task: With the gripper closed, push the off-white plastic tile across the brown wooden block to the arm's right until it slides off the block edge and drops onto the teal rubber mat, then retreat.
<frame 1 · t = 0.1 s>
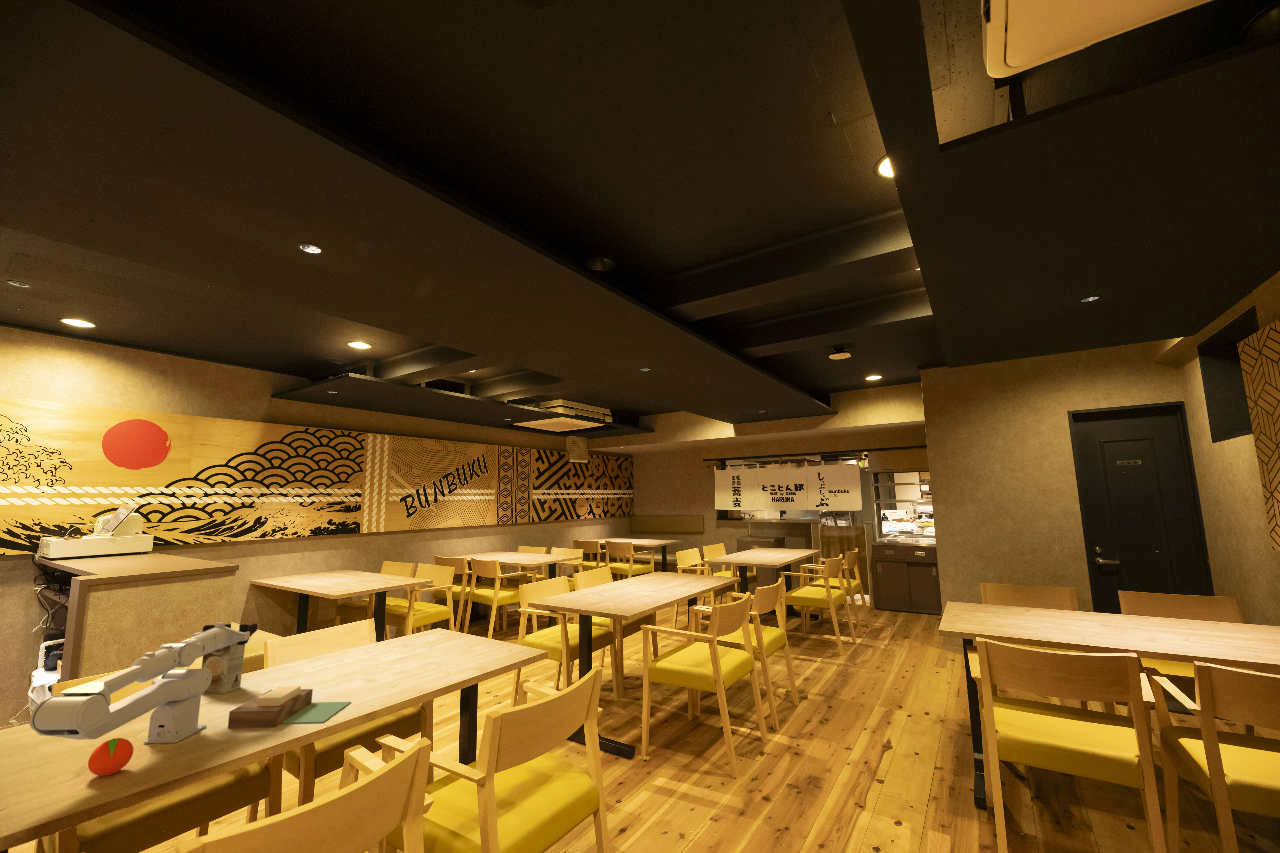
hand: (242, 627, 153), 22 cm above the table, tool horizontal, fingers open, 7 cm apart
coffee box: (219, 690, 162), on the table
mat: (317, 712, 144), on the table
tile: (278, 699, 143), point 4 cm above the table, touching brown wooden block
brown wooden block: (272, 715, 142), on the table
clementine: (108, 775, 111), on the table
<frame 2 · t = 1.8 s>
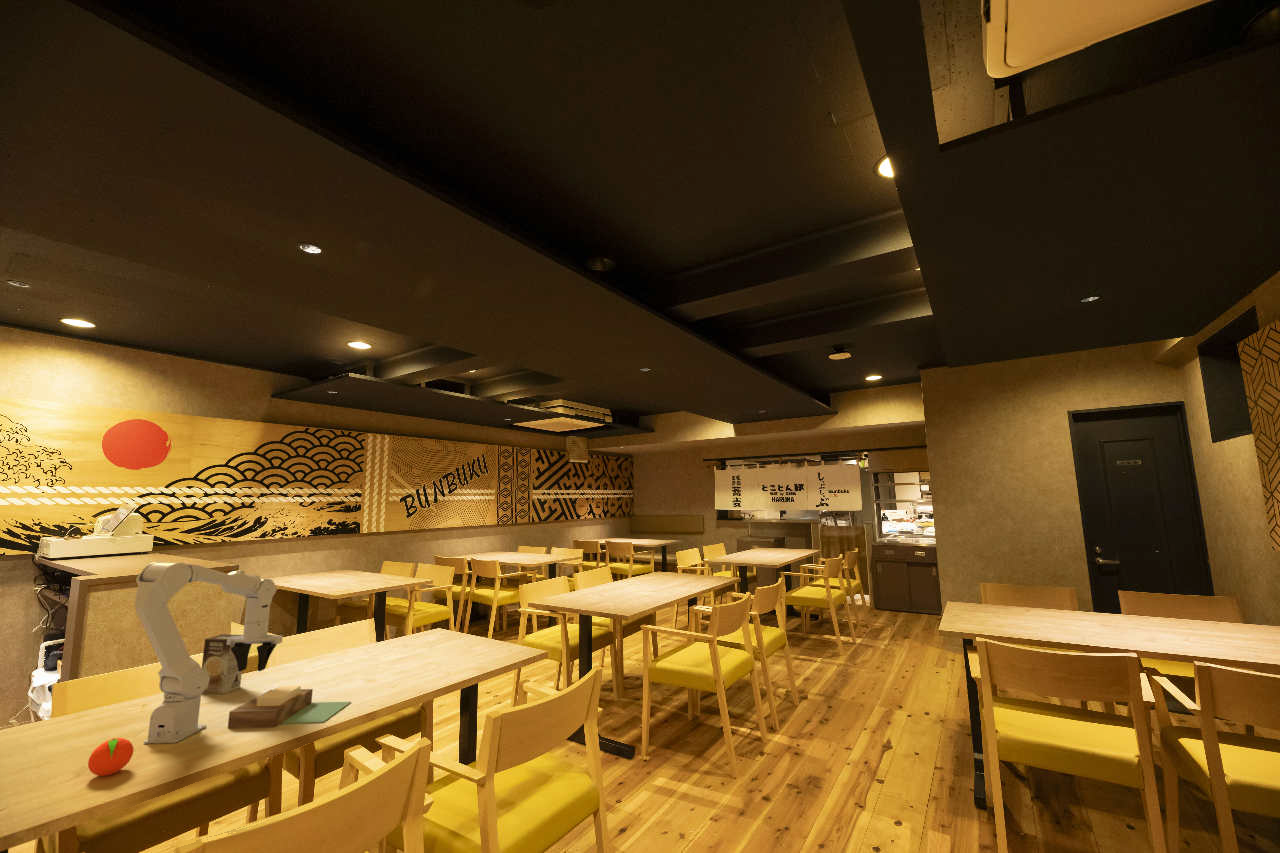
hand: (251, 670, 148), 10 cm above the table, tool pointing down, fingers open, 5 cm apart
nothing on the table moved.
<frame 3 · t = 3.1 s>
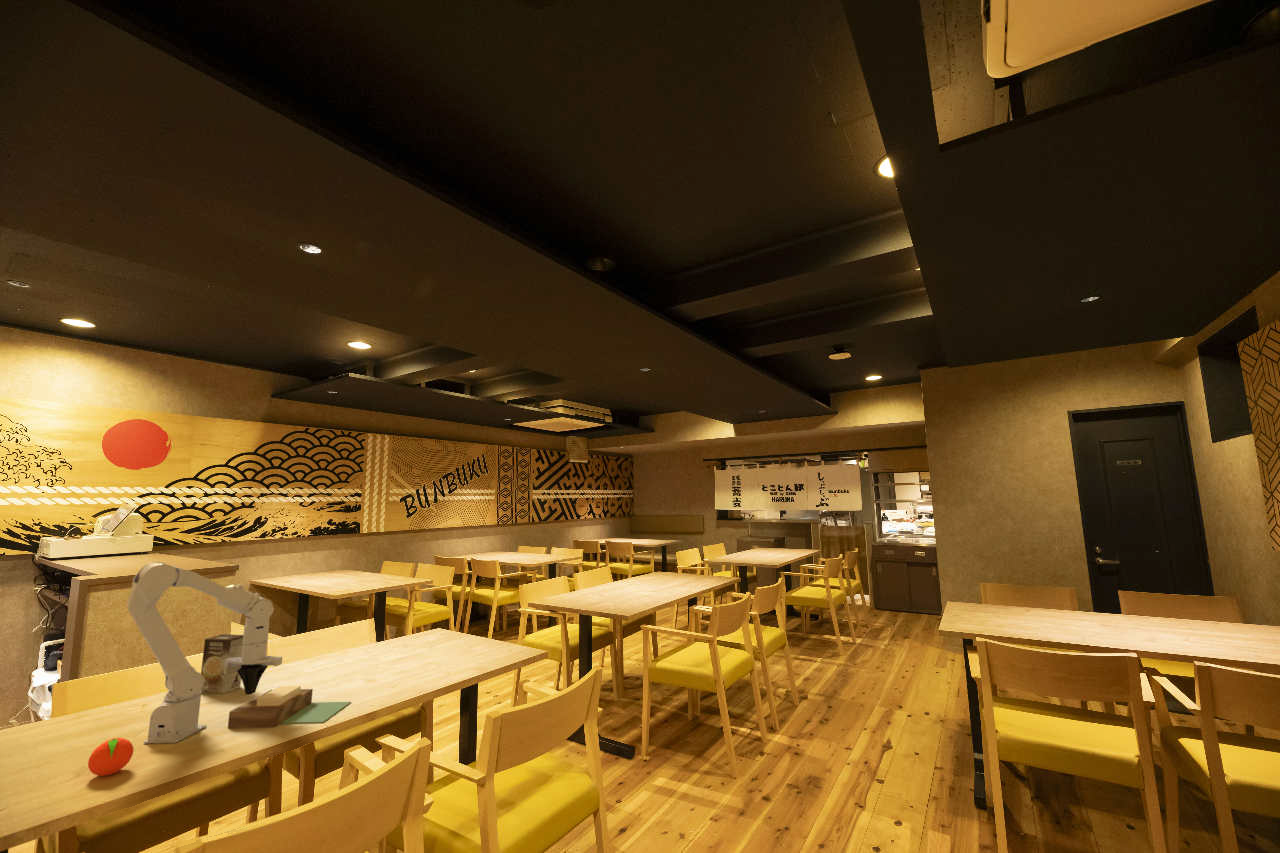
hand: (250, 693, 143), 6 cm above the table, tool pointing down, fingers closed
nothing on the table moved.
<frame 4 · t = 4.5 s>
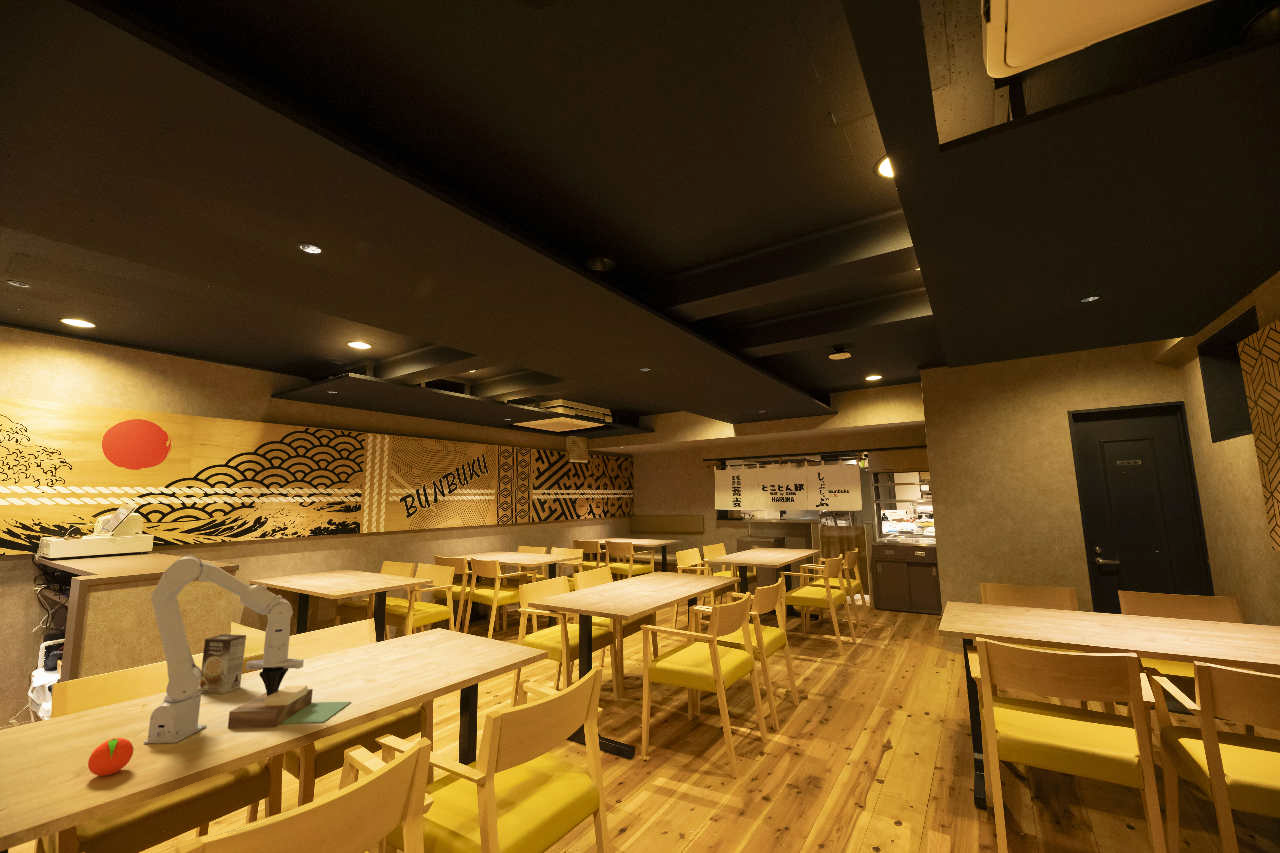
hand: (272, 696, 143), 5 cm above the table, tool pointing down, fingers closed
tile: (286, 699, 143), point 4 cm above the table, touching brown wooden block, gripper
everything else where it was.
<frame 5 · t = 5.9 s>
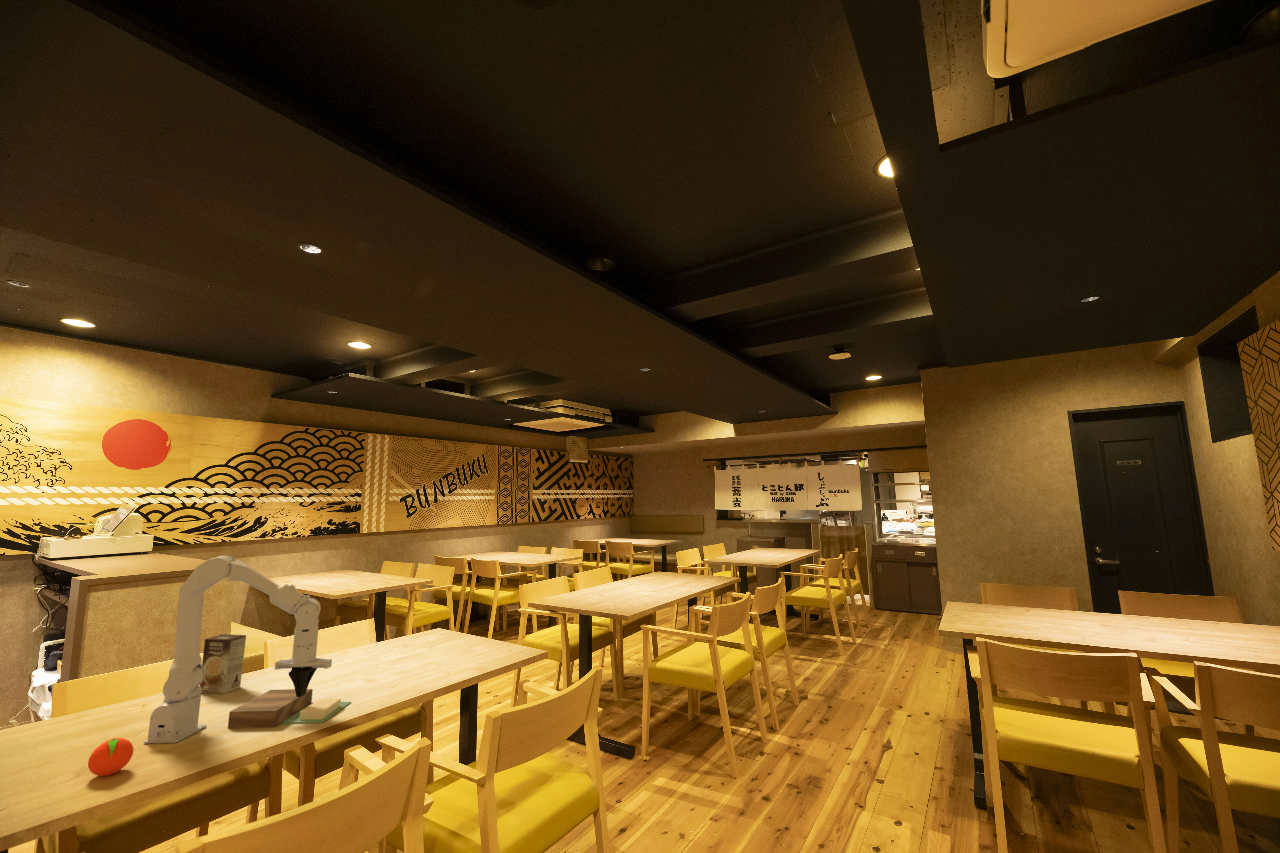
hand: (300, 695, 143), 5 cm above the table, tool pointing down, fingers closed
tile: (321, 705, 143), point 2 cm above the table, tilted 180°, touching mat
everything else where it was.
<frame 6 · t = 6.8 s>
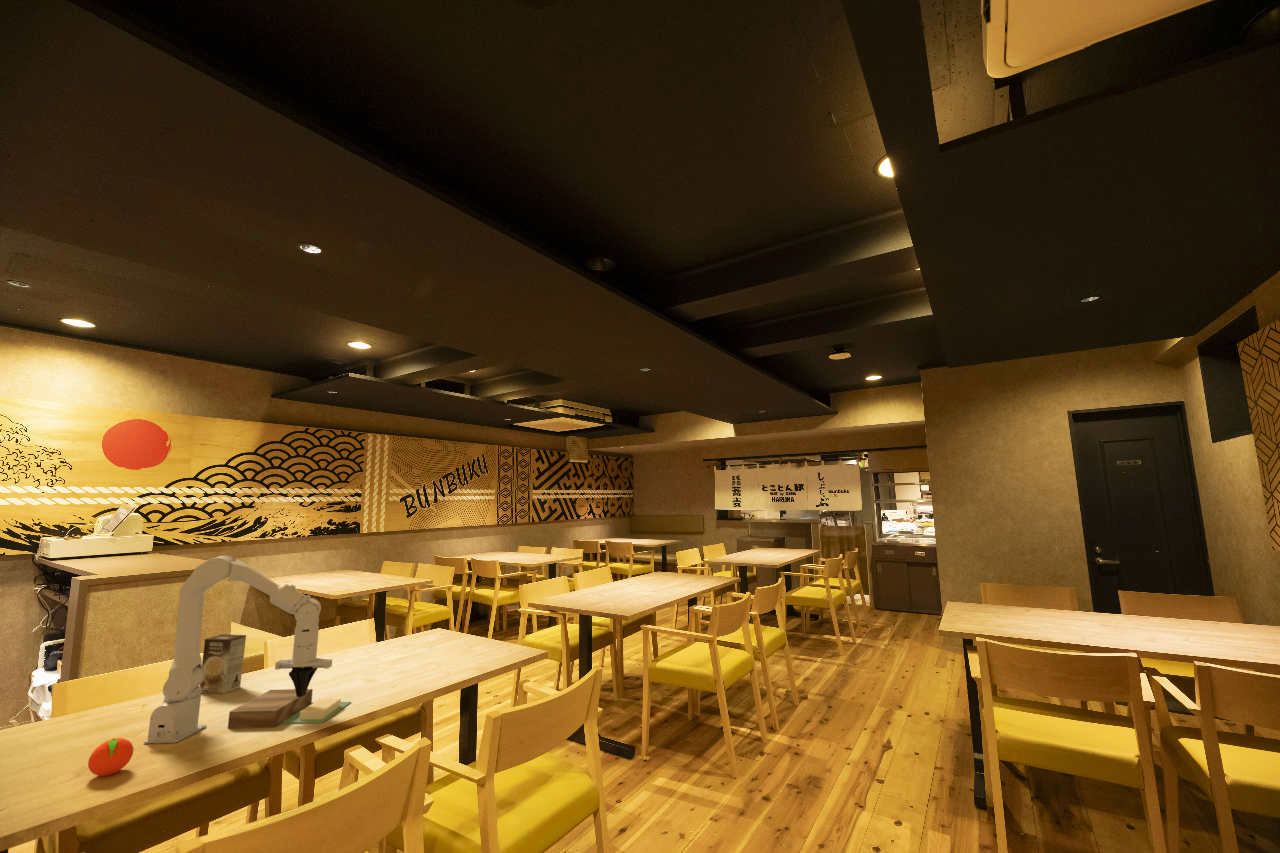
hand: (301, 695, 143), 5 cm above the table, tool pointing down, fingers closed
nothing on the table moved.
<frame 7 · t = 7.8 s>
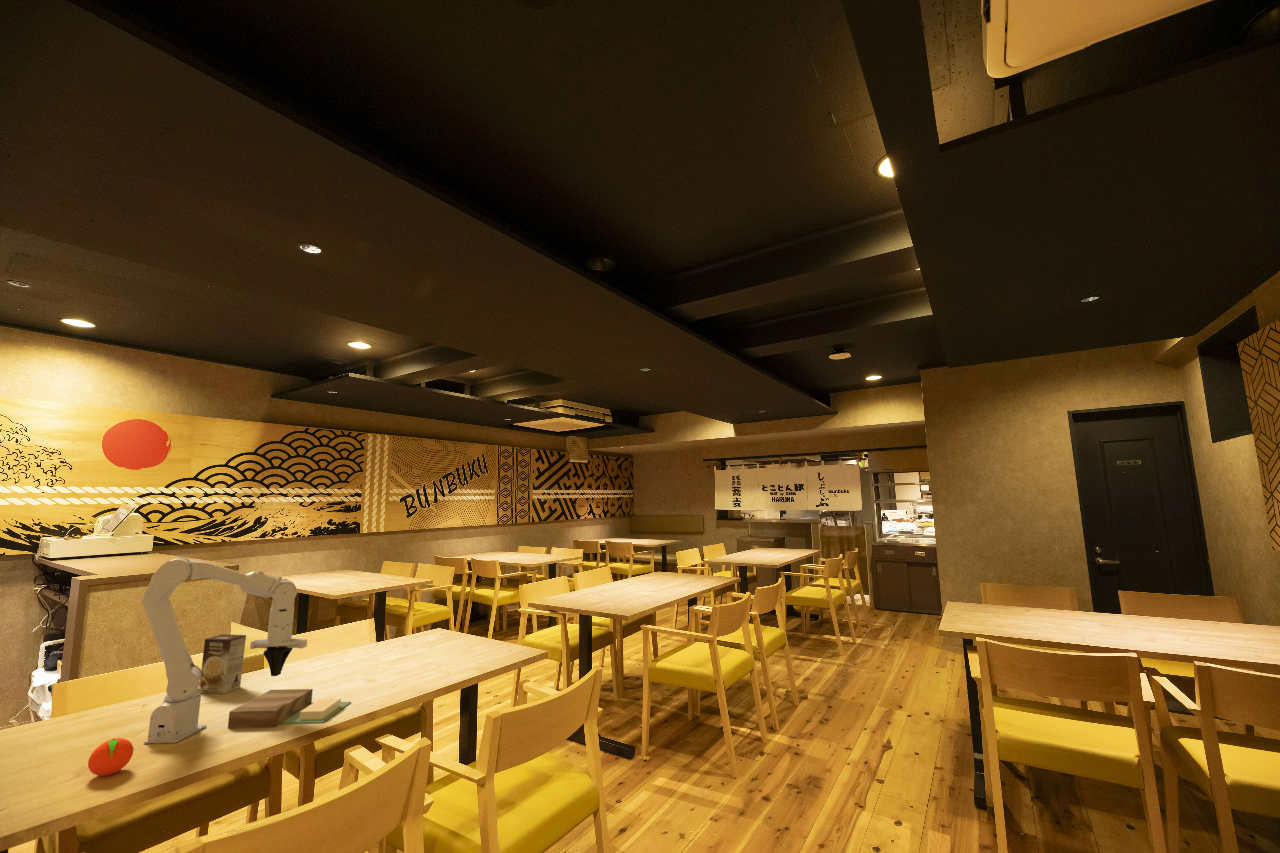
hand: (275, 675, 144), 10 cm above the table, tool pointing down, fingers closed
nothing on the table moved.
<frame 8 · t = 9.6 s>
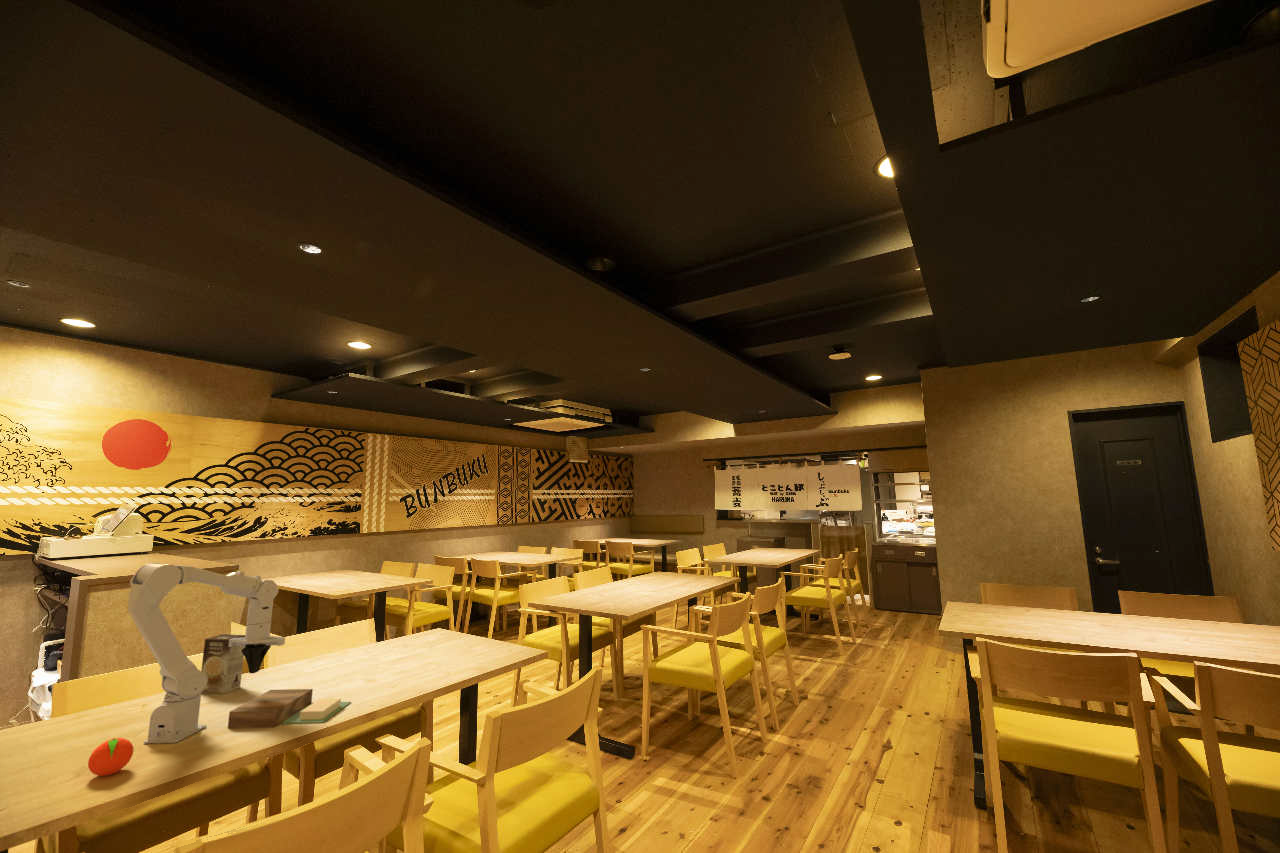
hand: (254, 672, 146), 10 cm above the table, tool pointing down, fingers closed
nothing on the table moved.
at the end: tile point 2.3 cm above the table; tile inside the target area on the mat (1.4 cm from its centre), point 2.3 cm above the mat's base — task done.
